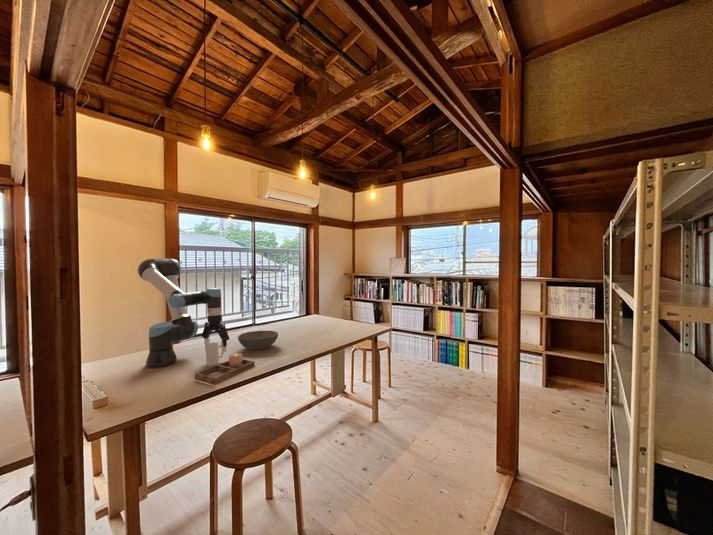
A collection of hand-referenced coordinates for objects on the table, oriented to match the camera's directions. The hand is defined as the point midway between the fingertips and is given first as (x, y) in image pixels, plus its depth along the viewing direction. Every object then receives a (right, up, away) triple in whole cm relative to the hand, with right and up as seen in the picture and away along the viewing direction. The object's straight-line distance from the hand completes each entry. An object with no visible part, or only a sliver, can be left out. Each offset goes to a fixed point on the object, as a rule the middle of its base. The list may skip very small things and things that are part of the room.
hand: (215, 350), depth 172 cm
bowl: (+15, -7, +30) cm, 34 cm away
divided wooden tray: (+12, -9, -12) cm, 19 cm away
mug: (0, -8, 0) cm, 8 cm away
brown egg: (+14, -8, -7) cm, 18 cm away
